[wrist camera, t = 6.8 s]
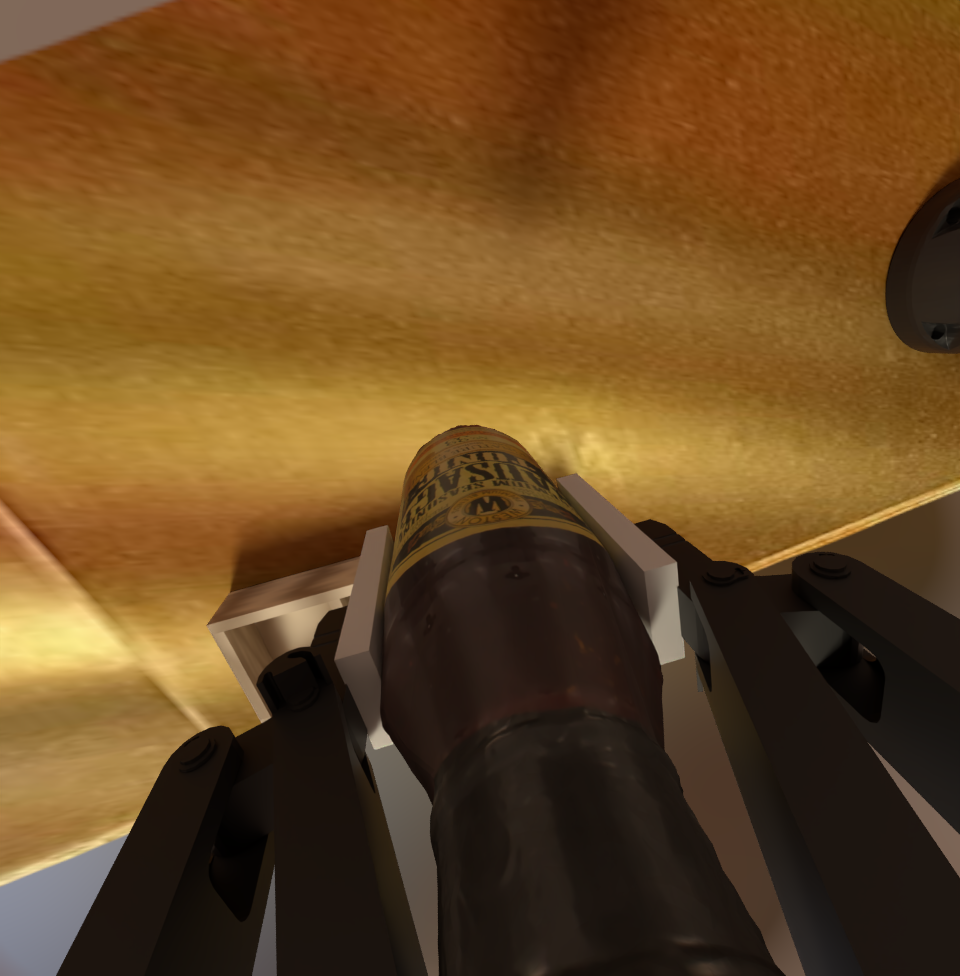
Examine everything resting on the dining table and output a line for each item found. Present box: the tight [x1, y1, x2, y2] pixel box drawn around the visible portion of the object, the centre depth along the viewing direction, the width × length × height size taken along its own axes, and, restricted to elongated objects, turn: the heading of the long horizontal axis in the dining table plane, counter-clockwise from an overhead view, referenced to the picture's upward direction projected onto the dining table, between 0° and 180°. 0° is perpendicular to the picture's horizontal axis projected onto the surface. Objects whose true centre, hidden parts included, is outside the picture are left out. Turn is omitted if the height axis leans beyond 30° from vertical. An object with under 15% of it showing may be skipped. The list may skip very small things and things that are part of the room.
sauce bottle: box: [380, 425, 786, 976], centre depth 12 cm, size 7×6×20 cm
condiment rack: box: [207, 556, 360, 723], centre depth 42 cm, size 31×12×5 cm, turn 103°
